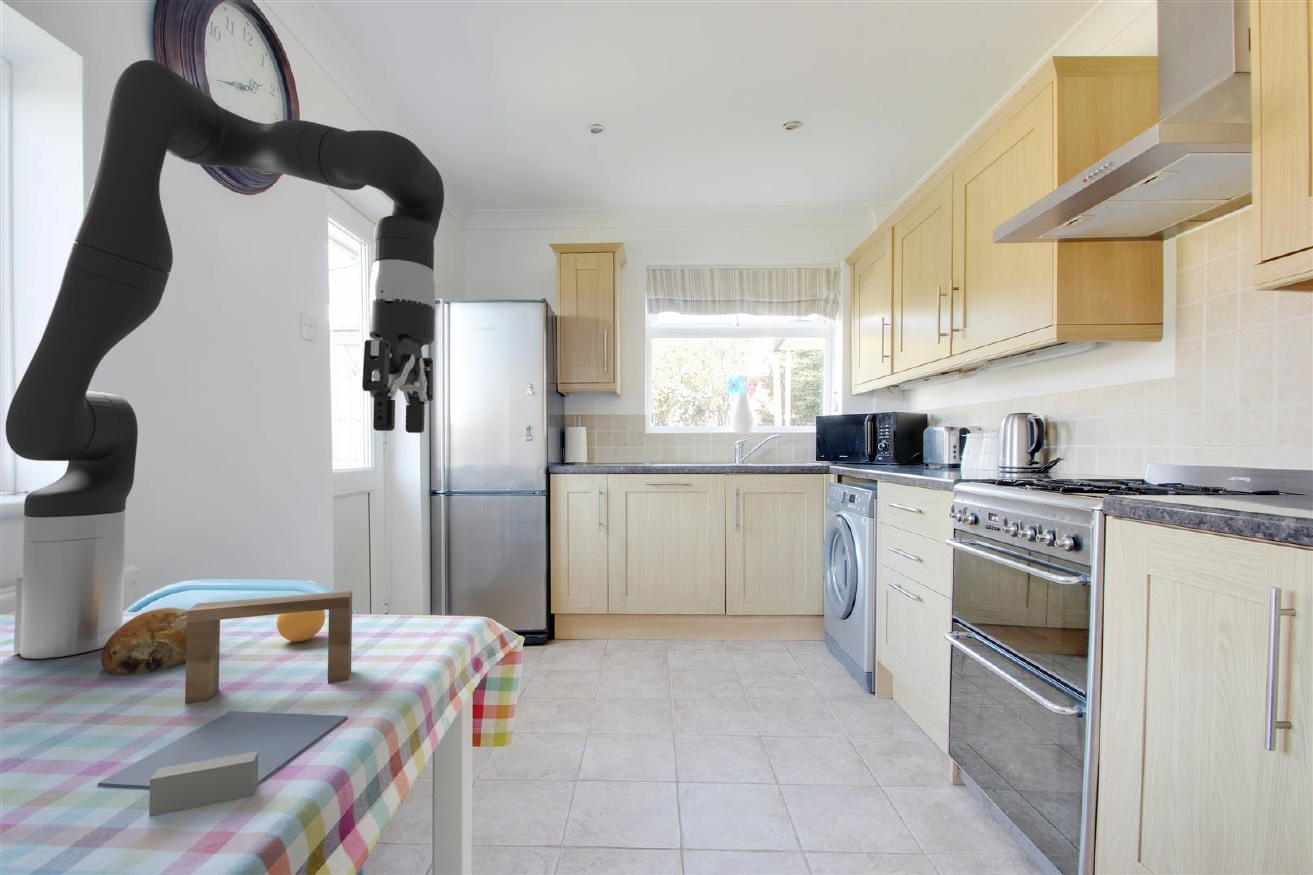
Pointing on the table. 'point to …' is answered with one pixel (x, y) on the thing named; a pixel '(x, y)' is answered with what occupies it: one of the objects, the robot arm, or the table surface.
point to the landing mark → (234, 744)
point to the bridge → (208, 615)
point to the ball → (300, 625)
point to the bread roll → (147, 643)
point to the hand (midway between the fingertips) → (400, 431)
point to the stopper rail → (203, 783)
